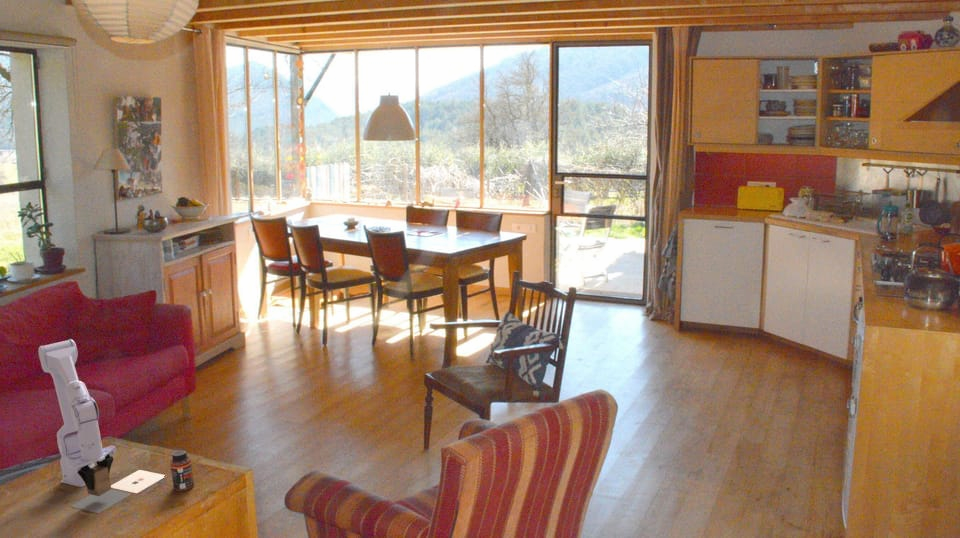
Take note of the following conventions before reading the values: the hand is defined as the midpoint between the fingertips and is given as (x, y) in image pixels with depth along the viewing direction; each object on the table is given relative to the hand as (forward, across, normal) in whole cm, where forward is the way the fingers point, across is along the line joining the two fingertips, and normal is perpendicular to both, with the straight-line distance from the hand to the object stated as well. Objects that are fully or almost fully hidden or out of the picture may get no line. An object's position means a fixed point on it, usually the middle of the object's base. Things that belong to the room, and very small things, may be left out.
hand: (98, 485), depth 258 cm
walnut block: (+2, 0, 0) cm, 2 cm away
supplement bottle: (+5, +15, -18) cm, 24 cm away
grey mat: (+5, 0, 0) cm, 5 cm away
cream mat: (+5, +13, -1) cm, 14 cm away
